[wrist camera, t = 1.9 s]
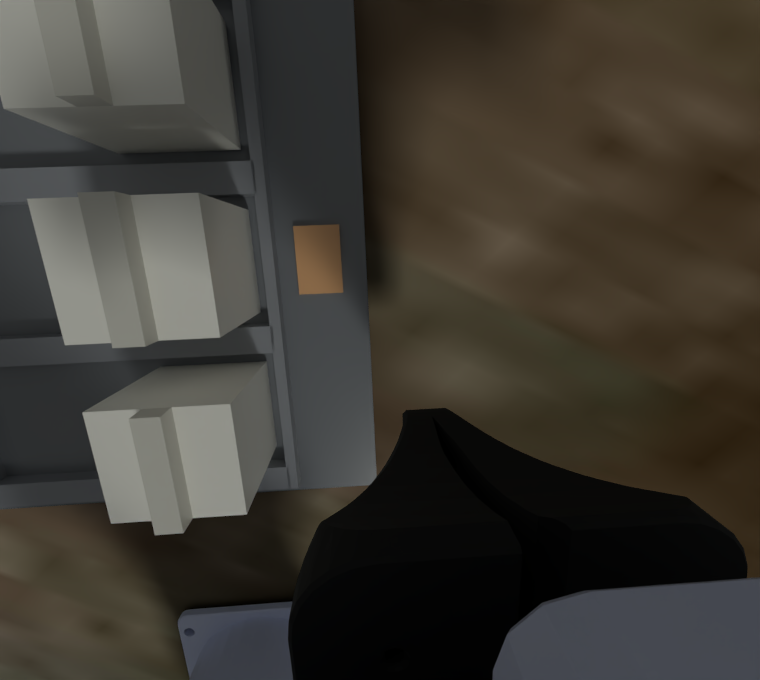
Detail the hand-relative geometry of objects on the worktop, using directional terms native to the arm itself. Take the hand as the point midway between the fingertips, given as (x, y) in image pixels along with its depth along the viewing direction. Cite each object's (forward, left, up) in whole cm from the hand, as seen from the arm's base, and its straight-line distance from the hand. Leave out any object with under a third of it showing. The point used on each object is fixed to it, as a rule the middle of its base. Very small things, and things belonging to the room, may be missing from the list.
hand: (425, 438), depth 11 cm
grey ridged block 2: (+5, +8, -4) cm, 10 cm away
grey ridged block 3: (0, +8, -3) cm, 8 cm away
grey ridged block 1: (+11, +7, -4) cm, 14 cm away
